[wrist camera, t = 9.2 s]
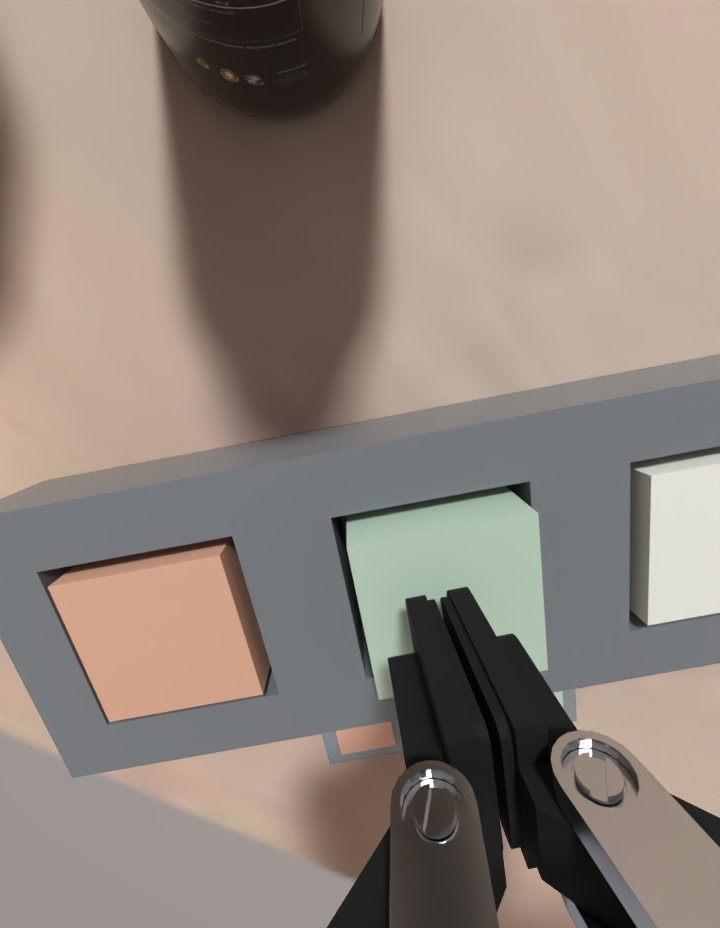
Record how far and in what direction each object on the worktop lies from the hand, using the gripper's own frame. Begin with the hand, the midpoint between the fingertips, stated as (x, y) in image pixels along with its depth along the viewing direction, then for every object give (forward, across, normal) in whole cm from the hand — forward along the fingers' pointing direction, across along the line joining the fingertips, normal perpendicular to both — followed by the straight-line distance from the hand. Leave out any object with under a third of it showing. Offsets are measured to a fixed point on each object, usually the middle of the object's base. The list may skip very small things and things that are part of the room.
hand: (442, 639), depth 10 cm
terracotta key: (+5, +8, 0) cm, 10 cm away
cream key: (+5, -10, 0) cm, 11 cm away
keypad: (+6, -1, 0) cm, 6 cm away
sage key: (+4, -1, 0) cm, 4 cm away
